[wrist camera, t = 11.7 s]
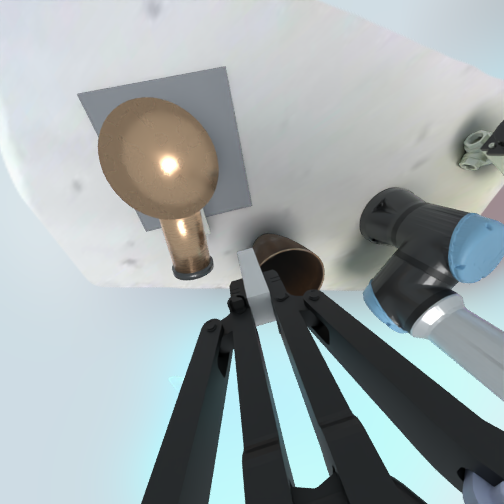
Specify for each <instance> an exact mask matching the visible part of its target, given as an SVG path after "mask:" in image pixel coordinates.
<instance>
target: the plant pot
mask: <svg viewBox="0 0 504 504" xmlns="http://www.w3.org/2000/svg"><path fill="white" fill-rule="evenodd" d="M253 250H254V253H255V256H256V258H257V261H258V263H259V266H260V269H261V271H262V272H265V271H269V270H272V269H273V270H274V271H276V272H277V273H278V275H279V277H280V279H281V281H282V283H283V285H284V287H285V289H286V291H287V292H288V293H289V294H291V295H293V296H303V295H304V293H305V292H306V291H308V290H312V289H316V290H320V288H321V286H322V283H323V281H324V275H325V271H324V265H323V263H322V261H321V259H320V258H319V257H318V256H317V255H316V254H314V253H313V252H312V251H310V250H309V249H307V248H305V247H304V246H302V245H300V244H299V243H297V242H295V241H293V240H291V239H288V238H286V237H283V236H280V235H276V234H264V235H261V236H260V237H258V238H257V239H256V241H255V243H254V245H253Z"/></svg>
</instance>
